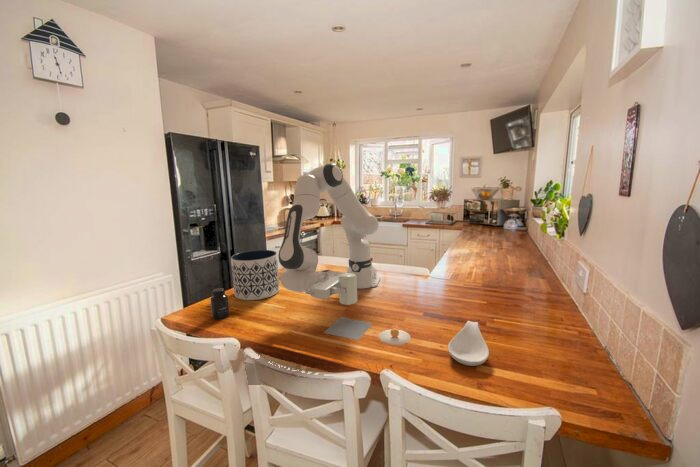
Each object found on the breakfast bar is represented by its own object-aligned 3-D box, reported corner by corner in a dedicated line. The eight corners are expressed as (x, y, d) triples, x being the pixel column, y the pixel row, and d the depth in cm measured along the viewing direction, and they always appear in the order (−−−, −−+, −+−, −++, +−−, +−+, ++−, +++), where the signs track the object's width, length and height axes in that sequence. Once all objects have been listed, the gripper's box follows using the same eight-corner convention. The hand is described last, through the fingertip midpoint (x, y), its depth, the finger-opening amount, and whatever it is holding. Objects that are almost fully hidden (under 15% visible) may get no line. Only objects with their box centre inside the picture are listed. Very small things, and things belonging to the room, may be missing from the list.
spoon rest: (487, 376, 86) (488, 352, 85) (444, 366, 91) (445, 344, 90) (490, 337, 107) (491, 318, 106) (455, 331, 112) (455, 312, 111)
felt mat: (340, 318, 125) (340, 317, 125) (372, 324, 119) (372, 322, 119) (323, 334, 112) (323, 332, 112) (358, 341, 106) (358, 340, 106)
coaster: (385, 328, 115) (385, 327, 115) (413, 333, 110) (413, 332, 110) (374, 342, 105) (374, 341, 105) (405, 349, 101) (405, 347, 100)
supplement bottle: (223, 320, 126) (220, 293, 124) (208, 319, 128) (205, 292, 126) (232, 313, 133) (230, 287, 131) (218, 312, 134) (215, 286, 132)
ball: (391, 333, 110) (391, 326, 109) (400, 335, 108) (400, 327, 108) (389, 337, 107) (389, 329, 106) (397, 339, 106) (397, 331, 105)
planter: (262, 303, 143) (258, 261, 140) (224, 298, 151) (220, 258, 148) (287, 287, 164) (285, 250, 161) (253, 284, 172) (250, 248, 168)
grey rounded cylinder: (344, 297, 118) (343, 272, 116) (359, 299, 115) (358, 273, 113) (337, 303, 112) (336, 277, 110) (352, 305, 110) (351, 278, 108)
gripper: (302, 283, 108) (336, 288, 103) (330, 268, 127) (360, 271, 121) (303, 300, 109) (337, 306, 104) (330, 282, 128) (361, 286, 122)
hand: (350, 287), depth 112 cm, fingers closed on grey rounded cylinder, 6 cm apart
